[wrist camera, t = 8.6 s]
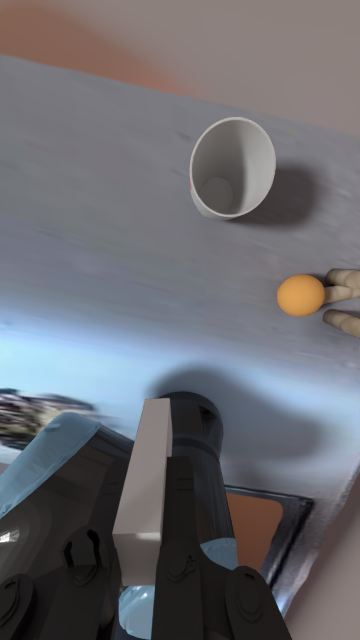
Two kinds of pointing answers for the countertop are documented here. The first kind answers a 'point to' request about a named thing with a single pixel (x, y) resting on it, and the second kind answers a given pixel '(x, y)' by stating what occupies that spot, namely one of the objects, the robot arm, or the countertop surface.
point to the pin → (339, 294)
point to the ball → (301, 295)
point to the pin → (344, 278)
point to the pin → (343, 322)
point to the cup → (231, 168)
